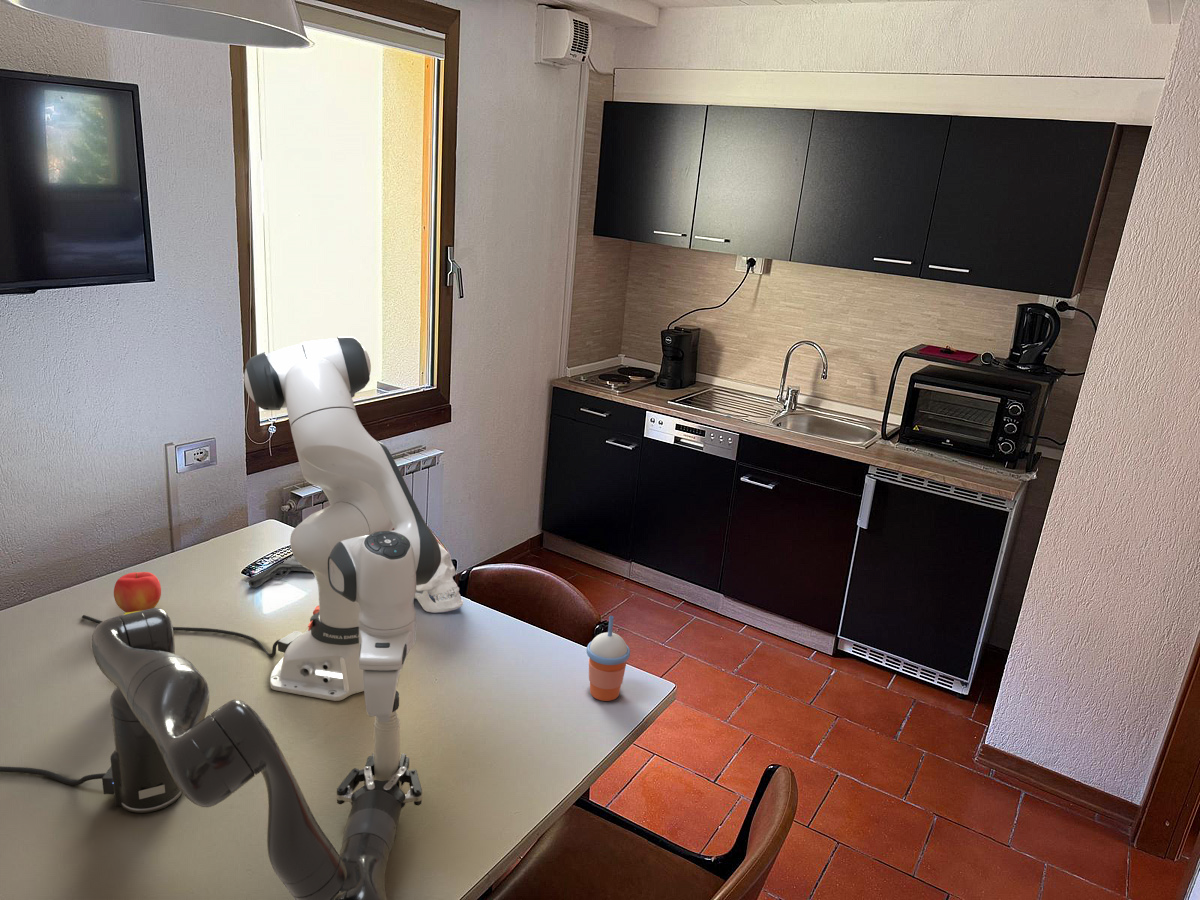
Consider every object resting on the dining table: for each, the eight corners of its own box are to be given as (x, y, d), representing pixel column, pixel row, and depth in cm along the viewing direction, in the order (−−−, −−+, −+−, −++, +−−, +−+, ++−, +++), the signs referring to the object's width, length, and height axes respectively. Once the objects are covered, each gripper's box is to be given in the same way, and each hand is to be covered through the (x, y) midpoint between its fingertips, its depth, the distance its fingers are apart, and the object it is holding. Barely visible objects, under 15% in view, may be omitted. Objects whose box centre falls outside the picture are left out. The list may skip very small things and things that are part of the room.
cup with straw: (621, 709, 175) (629, 631, 170) (578, 700, 177) (585, 623, 172) (629, 685, 184) (636, 610, 179) (588, 677, 185) (594, 603, 180)
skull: (448, 622, 203) (451, 561, 199) (372, 599, 211) (374, 540, 207) (477, 602, 215) (480, 543, 211) (405, 581, 223) (406, 524, 219)
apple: (166, 618, 196) (163, 578, 193) (118, 627, 190) (114, 586, 187) (159, 600, 203) (156, 561, 200) (113, 608, 198) (109, 569, 195)
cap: (375, 714, 138) (375, 703, 137) (374, 701, 141) (374, 689, 141) (400, 712, 139) (400, 700, 138) (398, 698, 142) (398, 687, 142)
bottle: (372, 792, 147) (372, 691, 141) (398, 788, 148) (398, 688, 142) (374, 809, 143) (374, 706, 137) (400, 804, 144) (401, 703, 138)
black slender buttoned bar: (292, 594, 211) (247, 586, 213) (325, 565, 228) (283, 558, 229) (291, 586, 211) (246, 578, 212) (325, 557, 227) (283, 550, 229)
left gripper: (418, 810, 130) (431, 739, 146) (322, 808, 128) (346, 738, 145) (417, 850, 132) (431, 776, 148) (323, 849, 130) (347, 775, 147)
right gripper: (376, 601, 146) (376, 672, 150) (356, 666, 126) (357, 746, 130) (413, 602, 146) (412, 672, 150) (400, 666, 127) (399, 745, 131)
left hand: (389, 758), depth 146 cm, fingers closed on bottle, 4 cm apart
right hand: (387, 707), depth 140 cm, fingers open, 5 cm apart
